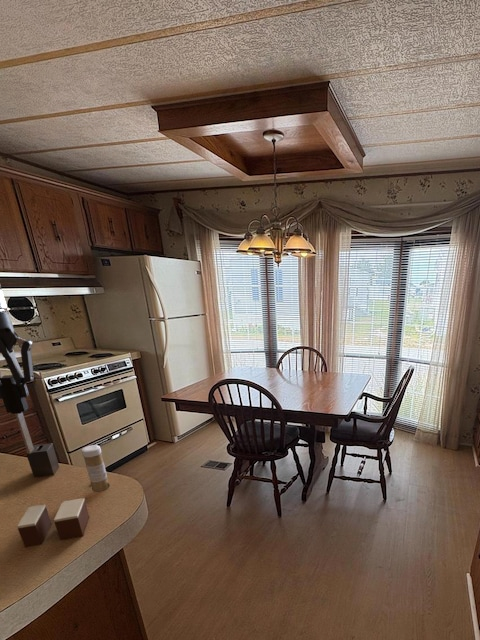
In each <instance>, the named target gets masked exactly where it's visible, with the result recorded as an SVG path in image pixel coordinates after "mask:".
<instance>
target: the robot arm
mask: <svg viewBox="0 0 480 640" xmlns="http://www.w3.org/2000/svg"><path fill="white" fill-rule="evenodd" d="M2 289H3V288H2V286H1V284H0V354H1V356H2V357H3V358H4V359H5V362H6V364H7V366H8V369H9V371H10V373H11V375H12V376H13V378H14V380H15V382H16V384H15V385H14V386H13V388H14V391H15V394H16V397H17V400H18V404H19V407H20V410H21V412H23V413H24V412H26V411H27V410H28V409H29V405H28V401H27V399H26V398H28V397H29V395H30V393H29V390H28V386H27V384H28V383H30V382H32V381H33V380H34V379H35V375H34V366H33V357H32V348H33V345H34V342H33V340H32V339H28V340H27V339H25V338H22V337H19V334H18V333H17V332H16V331H15V329H14V325H13V321H12V318H11V315H10V312H9V311H7V310H6V309H8V305H7V301H6V299H5V295H4V291H3V290H2ZM16 344H18V348H20V357H21V365H22V368H21V366H20V364H19V361H18V359H17V357H16V353H15V350H14V348H15V346H16ZM1 377H2V373H1V372H0V378H1ZM0 400H2V402H3V406H4V408H5V411H6V413H11V411H10V408H9V405H8V402H7V399H6V396H5V393H4V390H3V387H2V384H1V381H0Z"/></svg>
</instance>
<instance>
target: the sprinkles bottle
mask: <svg viewBox="0 0 480 640" xmlns="http://www.w3.org/2000/svg"><path fill="white" fill-rule="evenodd" d="M81 454H82V457H83V458H84V463H85V467H86V471H87V476H88V479H89V481H90V485H91V490H92V491H93V492H103V491H106V490H108V489H109V487H110V483H109V480H108V474H107V470H106V466H105V462H104V459H103V455H102V449H101V446H100V445H97V444H92V445H87V446H84V447H82V448H81Z"/></svg>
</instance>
